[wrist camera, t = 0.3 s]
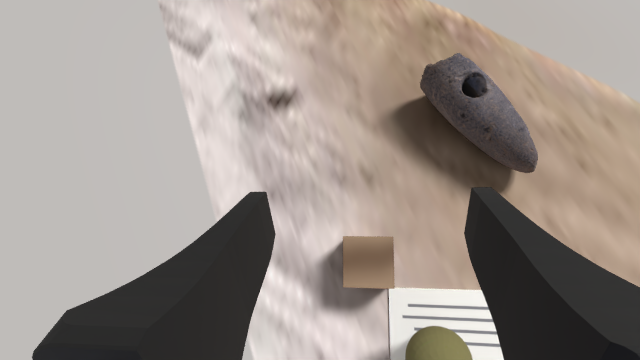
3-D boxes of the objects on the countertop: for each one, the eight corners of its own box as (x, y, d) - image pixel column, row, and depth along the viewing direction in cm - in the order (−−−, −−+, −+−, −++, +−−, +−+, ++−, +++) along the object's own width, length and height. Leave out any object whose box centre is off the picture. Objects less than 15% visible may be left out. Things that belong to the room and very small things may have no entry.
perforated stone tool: (540, 162, 39) (574, 146, 32) (501, 192, 39) (526, 182, 32) (448, 66, 42) (460, 33, 36) (412, 93, 43) (418, 66, 36)
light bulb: (390, 336, 38) (392, 371, 29) (425, 298, 38) (440, 320, 29) (430, 377, 37) (447, 428, 27) (467, 338, 37) (497, 375, 27)
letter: (534, 395, 35) (535, 396, 35) (390, 384, 38) (390, 385, 38) (525, 291, 37) (526, 291, 37) (388, 287, 39) (388, 287, 39)
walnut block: (393, 282, 39) (394, 288, 35) (348, 281, 40) (343, 287, 35) (392, 236, 40) (393, 236, 35) (347, 236, 41) (343, 236, 36)
